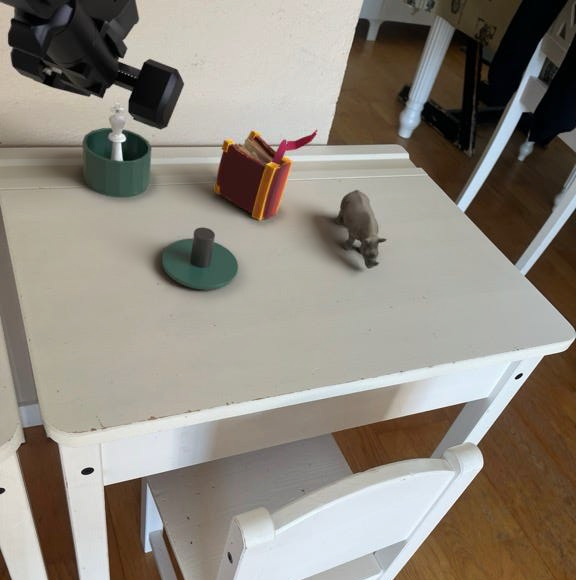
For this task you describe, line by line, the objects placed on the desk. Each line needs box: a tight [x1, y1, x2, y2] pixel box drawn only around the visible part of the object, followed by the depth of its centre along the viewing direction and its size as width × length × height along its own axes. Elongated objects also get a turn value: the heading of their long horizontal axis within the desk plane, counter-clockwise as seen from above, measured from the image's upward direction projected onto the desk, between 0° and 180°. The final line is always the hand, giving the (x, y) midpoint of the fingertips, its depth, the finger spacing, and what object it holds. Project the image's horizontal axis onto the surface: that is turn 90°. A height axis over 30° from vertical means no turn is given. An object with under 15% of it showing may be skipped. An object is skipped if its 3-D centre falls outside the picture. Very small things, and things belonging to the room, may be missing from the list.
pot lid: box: [161, 227, 239, 291], centre depth 73 cm, size 9×9×5 cm
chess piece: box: [108, 101, 127, 161], centre depth 79 cm, size 5×5×10 cm
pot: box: [82, 127, 153, 198], centre depth 81 cm, size 8×8×5 cm
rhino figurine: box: [334, 189, 388, 269], centre depth 82 cm, size 4×14×6 cm, turn 11°
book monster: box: [213, 129, 319, 221], centre depth 84 cm, size 11×9×12 cm
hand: (123, 105), depth 77 cm, fingers open, 9 cm apart
